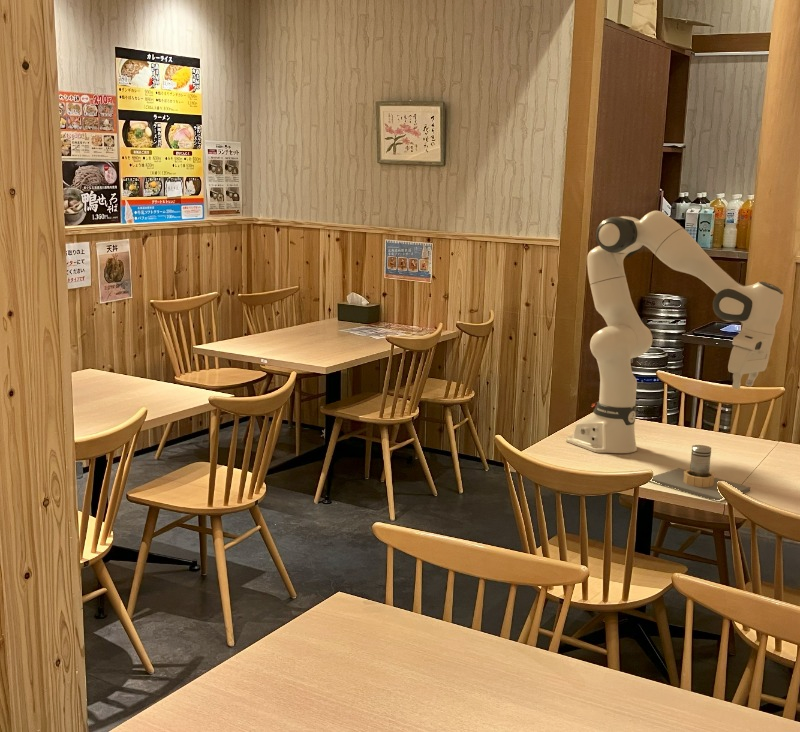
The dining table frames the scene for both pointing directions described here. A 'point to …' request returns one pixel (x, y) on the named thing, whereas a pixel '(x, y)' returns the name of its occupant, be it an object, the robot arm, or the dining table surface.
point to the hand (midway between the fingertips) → (742, 387)
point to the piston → (700, 461)
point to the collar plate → (694, 483)
